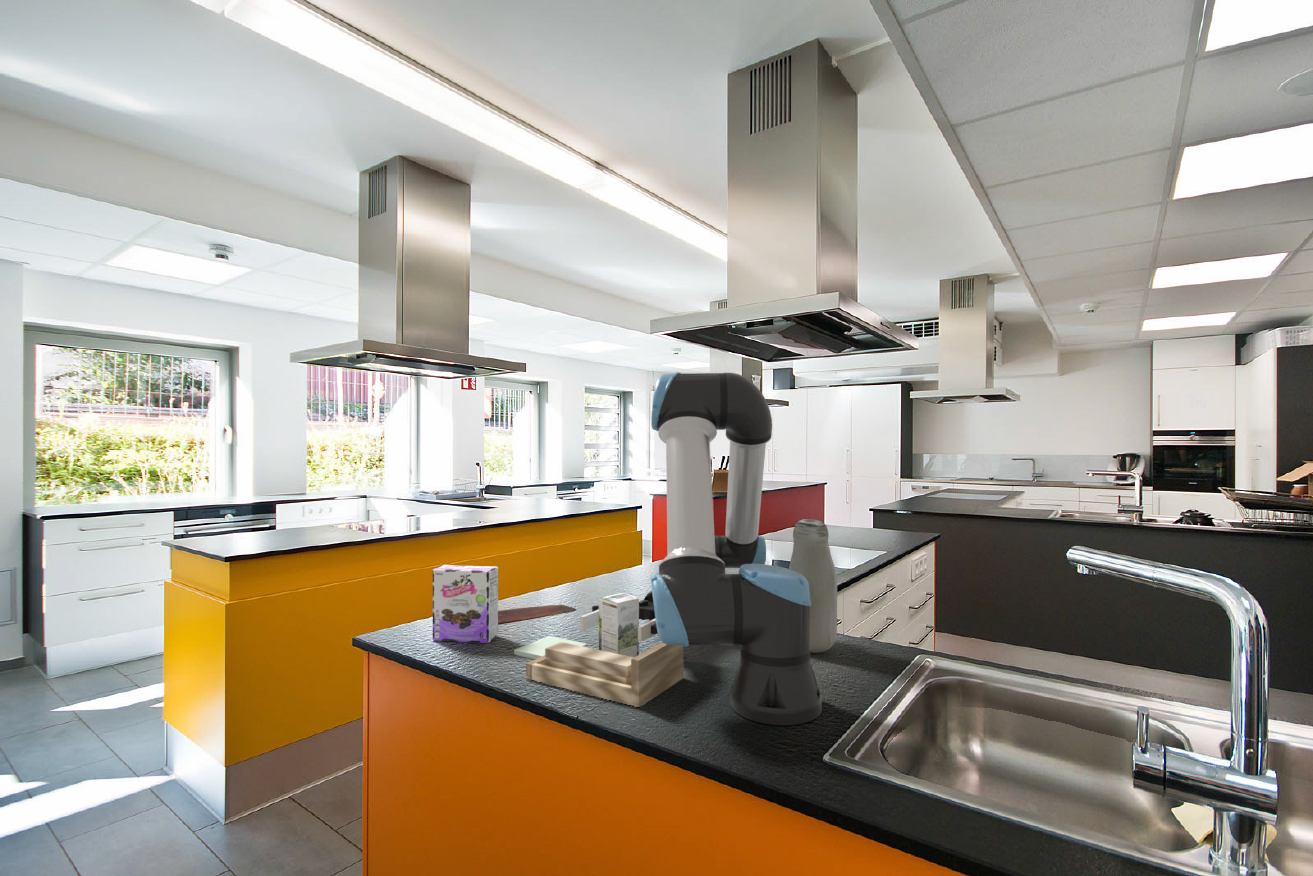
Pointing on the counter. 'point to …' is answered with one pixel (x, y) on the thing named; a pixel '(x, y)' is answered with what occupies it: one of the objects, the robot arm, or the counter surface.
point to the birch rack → (647, 682)
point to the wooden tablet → (531, 612)
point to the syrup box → (619, 624)
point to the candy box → (465, 603)
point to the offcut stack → (589, 662)
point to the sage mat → (542, 647)
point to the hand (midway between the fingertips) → (609, 628)
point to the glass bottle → (817, 580)
